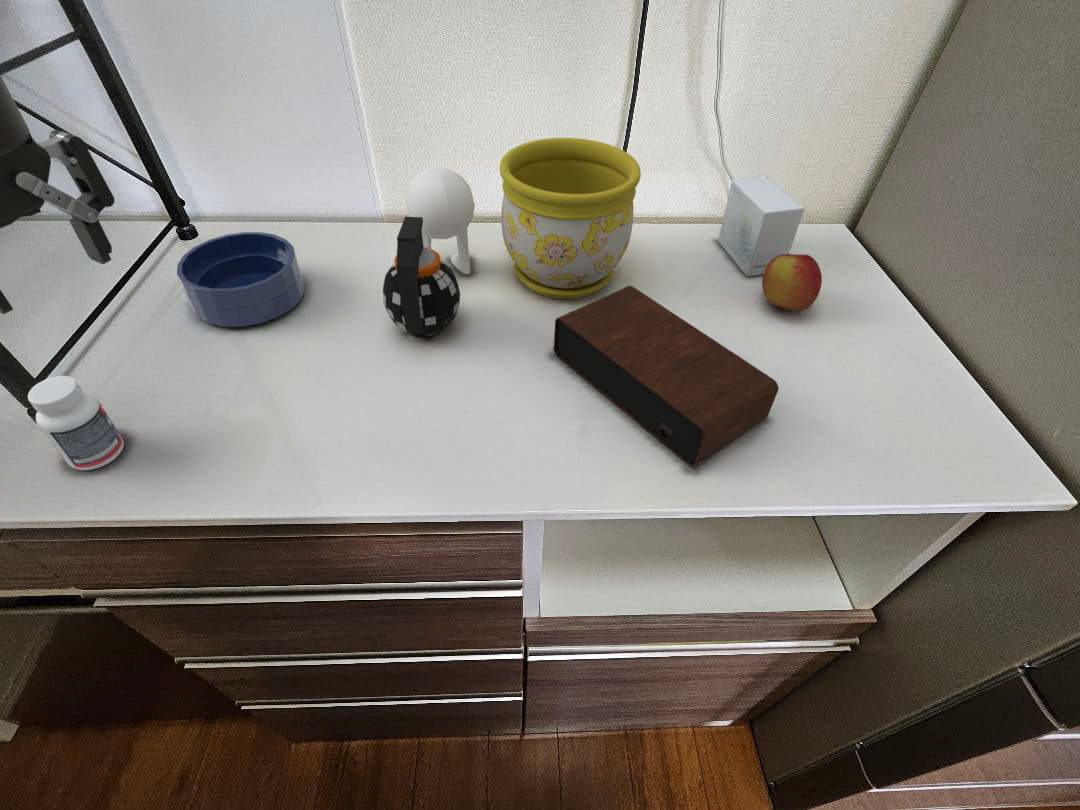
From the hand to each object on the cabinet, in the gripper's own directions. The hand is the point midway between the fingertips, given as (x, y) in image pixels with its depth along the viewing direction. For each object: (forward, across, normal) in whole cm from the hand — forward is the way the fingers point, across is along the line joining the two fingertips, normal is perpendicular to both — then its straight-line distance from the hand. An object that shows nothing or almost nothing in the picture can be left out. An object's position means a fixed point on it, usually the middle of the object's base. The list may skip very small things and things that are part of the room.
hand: (54, 283), depth 52 cm
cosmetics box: (+19, -70, +46) cm, 86 cm away
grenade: (+20, -30, +14) cm, 38 cm away
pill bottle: (+20, +4, -3) cm, 20 cm away
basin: (+19, -24, -10) cm, 33 cm away
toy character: (+20, -43, +8) cm, 48 cm away
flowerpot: (+20, -51, +23) cm, 59 cm away
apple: (+20, -60, +53) cm, 82 cm away
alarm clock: (+20, -35, +44) cm, 59 cm away
